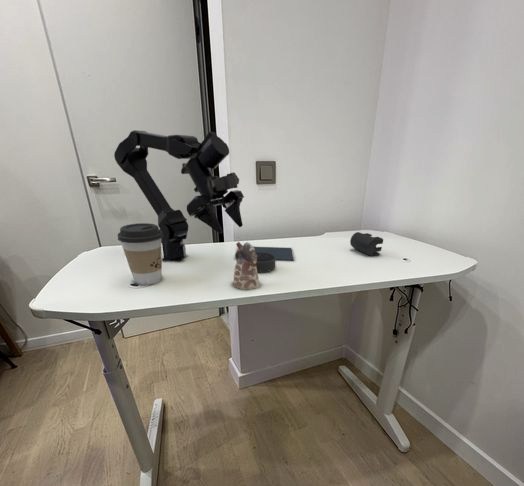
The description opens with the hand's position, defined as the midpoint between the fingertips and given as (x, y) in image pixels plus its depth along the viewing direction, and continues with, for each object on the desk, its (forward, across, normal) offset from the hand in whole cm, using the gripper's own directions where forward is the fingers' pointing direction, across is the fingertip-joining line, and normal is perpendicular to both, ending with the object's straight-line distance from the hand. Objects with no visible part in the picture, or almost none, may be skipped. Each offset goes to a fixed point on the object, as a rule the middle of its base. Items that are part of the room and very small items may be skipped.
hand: (231, 229), depth 82 cm
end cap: (+27, +47, -14) cm, 56 cm away
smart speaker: (+14, +10, +5) cm, 17 cm away
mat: (+9, +23, +10) cm, 27 cm away
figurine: (+16, -4, +2) cm, 16 cm away
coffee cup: (+1, -17, +22) cm, 28 cm away
